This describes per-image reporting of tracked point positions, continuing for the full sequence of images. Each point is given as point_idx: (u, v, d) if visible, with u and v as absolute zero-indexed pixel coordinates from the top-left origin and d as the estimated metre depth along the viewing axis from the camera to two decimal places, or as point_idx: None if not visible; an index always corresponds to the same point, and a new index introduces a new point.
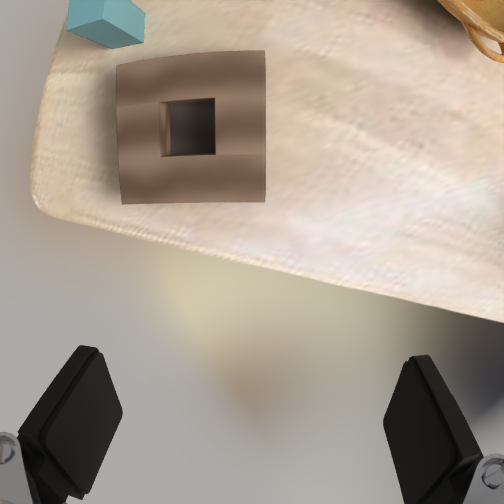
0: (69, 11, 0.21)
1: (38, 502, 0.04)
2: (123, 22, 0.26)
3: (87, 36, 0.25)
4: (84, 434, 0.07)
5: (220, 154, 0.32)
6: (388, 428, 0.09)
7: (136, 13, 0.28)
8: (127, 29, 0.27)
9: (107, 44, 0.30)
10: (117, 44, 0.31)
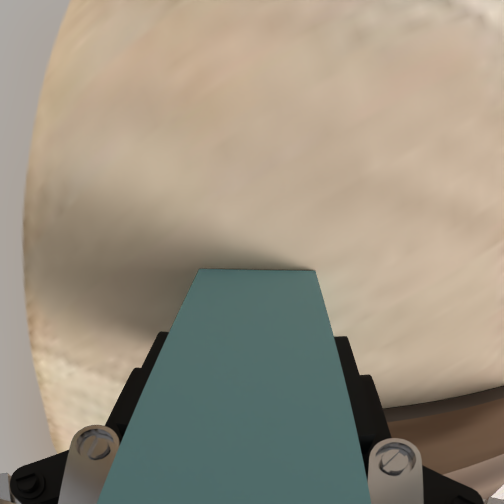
0: None
1: None
2: None
3: None
4: None
5: None
6: None
7: None
8: None
9: None
10: None
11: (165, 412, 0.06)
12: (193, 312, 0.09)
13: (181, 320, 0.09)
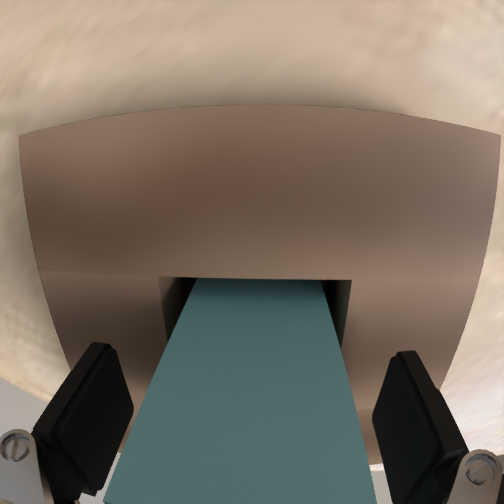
0: None
1: (51, 501, 0.04)
2: None
3: None
4: (98, 430, 0.07)
5: None
6: (376, 423, 0.09)
7: None
8: None
9: None
10: None
11: (185, 364, 0.07)
12: (205, 288, 0.11)
13: (195, 294, 0.10)
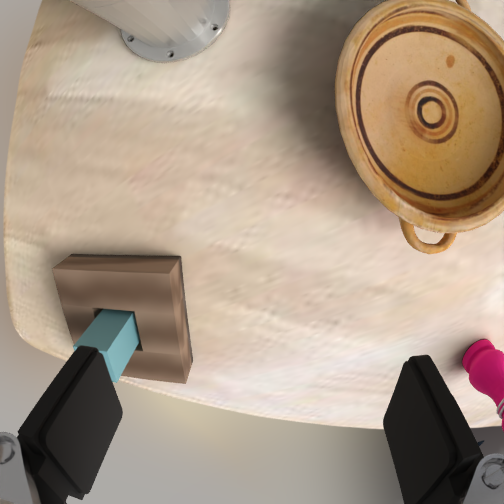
0: None
1: (38, 502, 0.04)
2: (129, 350, 0.35)
3: None
4: (84, 434, 0.07)
5: (146, 351, 0.38)
6: (388, 428, 0.09)
7: (135, 318, 0.38)
8: (133, 348, 0.36)
9: None
10: None
11: (92, 327, 0.33)
12: (105, 310, 0.37)
13: (101, 312, 0.37)
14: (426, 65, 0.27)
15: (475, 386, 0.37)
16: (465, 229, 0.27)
